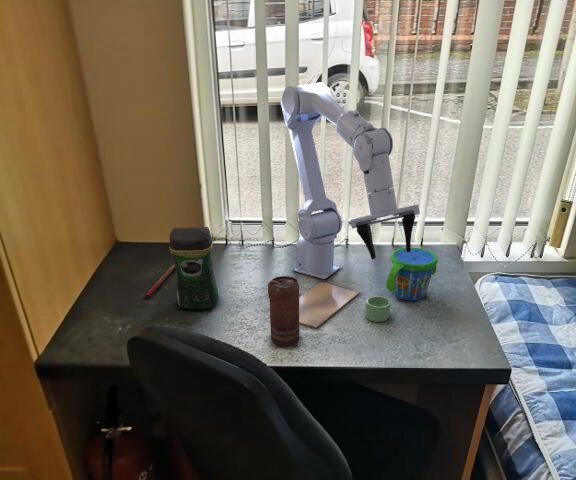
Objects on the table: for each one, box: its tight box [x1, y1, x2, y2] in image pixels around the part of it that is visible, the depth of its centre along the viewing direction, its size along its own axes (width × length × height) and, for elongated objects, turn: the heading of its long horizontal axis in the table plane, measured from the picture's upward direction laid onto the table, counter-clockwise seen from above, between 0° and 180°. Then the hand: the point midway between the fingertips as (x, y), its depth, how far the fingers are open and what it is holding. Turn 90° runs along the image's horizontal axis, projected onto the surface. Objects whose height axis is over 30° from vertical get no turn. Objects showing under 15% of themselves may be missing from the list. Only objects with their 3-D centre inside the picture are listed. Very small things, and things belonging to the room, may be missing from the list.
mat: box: [299, 281, 360, 330], centre depth 136 cm, size 11×20×1 cm, turn 146°
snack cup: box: [385, 247, 439, 302], centre depth 136 cm, size 16×10×10 cm
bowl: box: [364, 295, 392, 323], centre depth 129 cm, size 6×6×4 cm
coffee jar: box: [169, 226, 220, 311], centre depth 131 cm, size 10×8×19 cm
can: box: [267, 275, 300, 349], centre depth 118 cm, size 6×6×14 cm
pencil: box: [144, 264, 176, 299], centre depth 147 cm, size 19×1×1 cm, turn 168°
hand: (391, 255), depth 124 cm, fingers open, 7 cm apart
